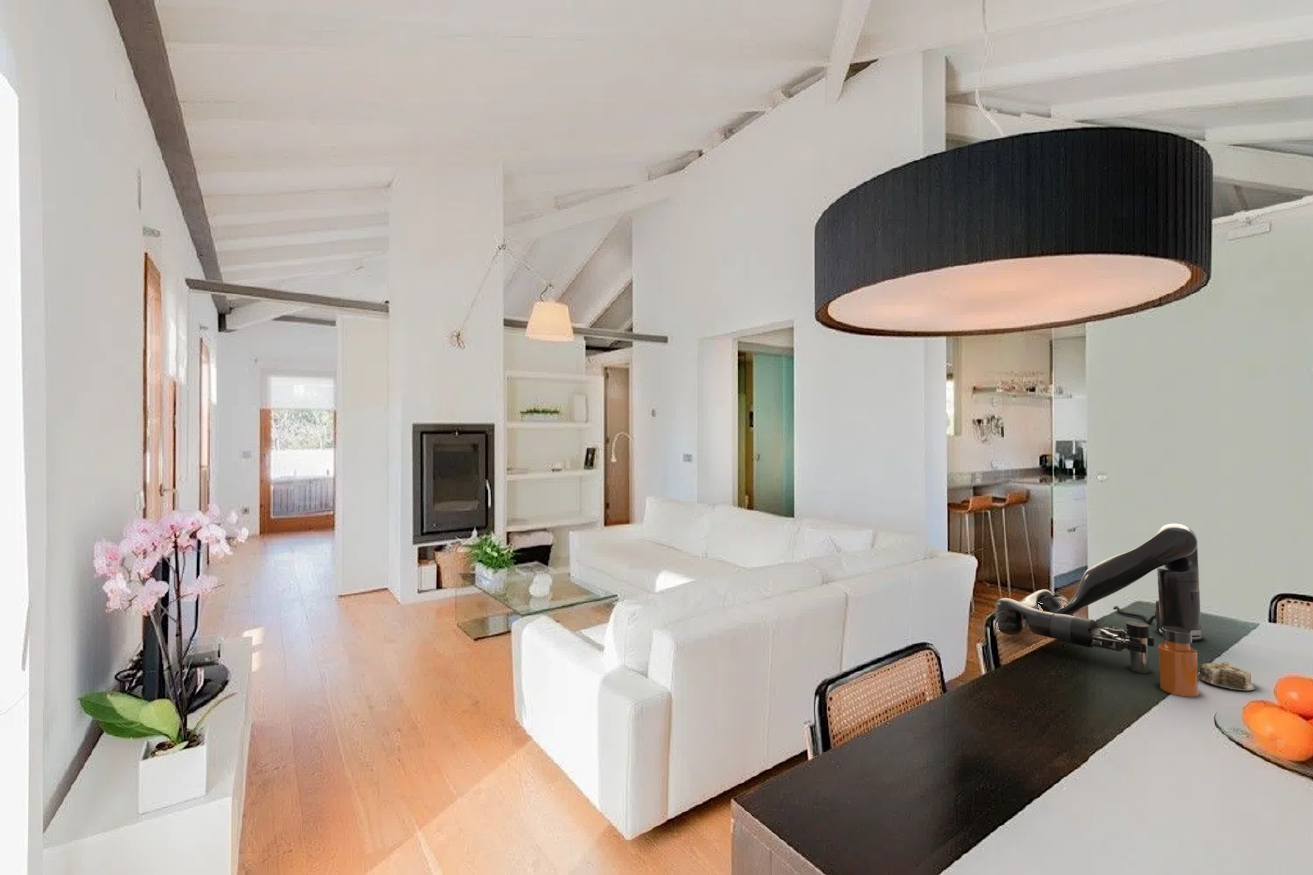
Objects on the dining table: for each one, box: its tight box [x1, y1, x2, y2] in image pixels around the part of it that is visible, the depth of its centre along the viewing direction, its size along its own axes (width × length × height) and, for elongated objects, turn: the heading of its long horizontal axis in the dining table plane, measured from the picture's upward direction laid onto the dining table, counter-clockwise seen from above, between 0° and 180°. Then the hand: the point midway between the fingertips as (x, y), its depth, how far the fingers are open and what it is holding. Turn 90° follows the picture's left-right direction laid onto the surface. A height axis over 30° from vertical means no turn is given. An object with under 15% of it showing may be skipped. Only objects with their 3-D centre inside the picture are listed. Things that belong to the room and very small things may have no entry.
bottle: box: [1157, 626, 1200, 698], centre depth 137 cm, size 7×7×14 cm
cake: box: [1198, 661, 1256, 691], centre depth 140 cm, size 10×10×5 cm
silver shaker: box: [1125, 620, 1151, 674], centre depth 149 cm, size 5×5×12 cm
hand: (1149, 645), depth 147 cm, fingers open, 6 cm apart
